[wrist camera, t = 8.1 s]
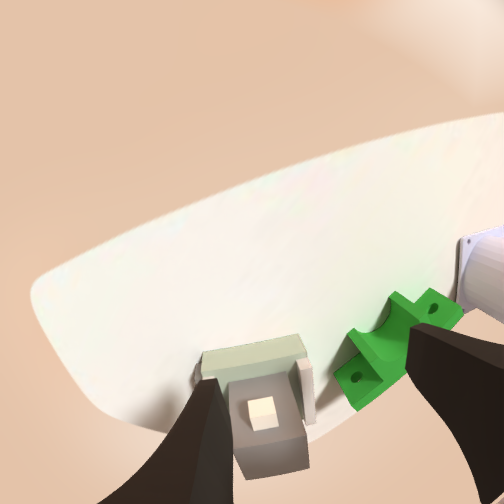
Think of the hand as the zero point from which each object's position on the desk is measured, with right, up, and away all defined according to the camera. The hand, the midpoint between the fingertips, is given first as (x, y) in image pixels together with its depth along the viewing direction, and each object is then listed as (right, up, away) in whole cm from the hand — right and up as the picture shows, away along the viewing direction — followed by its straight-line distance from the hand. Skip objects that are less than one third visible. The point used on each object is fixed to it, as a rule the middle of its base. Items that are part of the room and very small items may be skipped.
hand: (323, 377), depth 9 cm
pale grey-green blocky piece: (-2, -6, +12) cm, 13 cm away
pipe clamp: (+8, -2, +12) cm, 15 cm away
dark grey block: (-2, -6, +9) cm, 11 cm away
